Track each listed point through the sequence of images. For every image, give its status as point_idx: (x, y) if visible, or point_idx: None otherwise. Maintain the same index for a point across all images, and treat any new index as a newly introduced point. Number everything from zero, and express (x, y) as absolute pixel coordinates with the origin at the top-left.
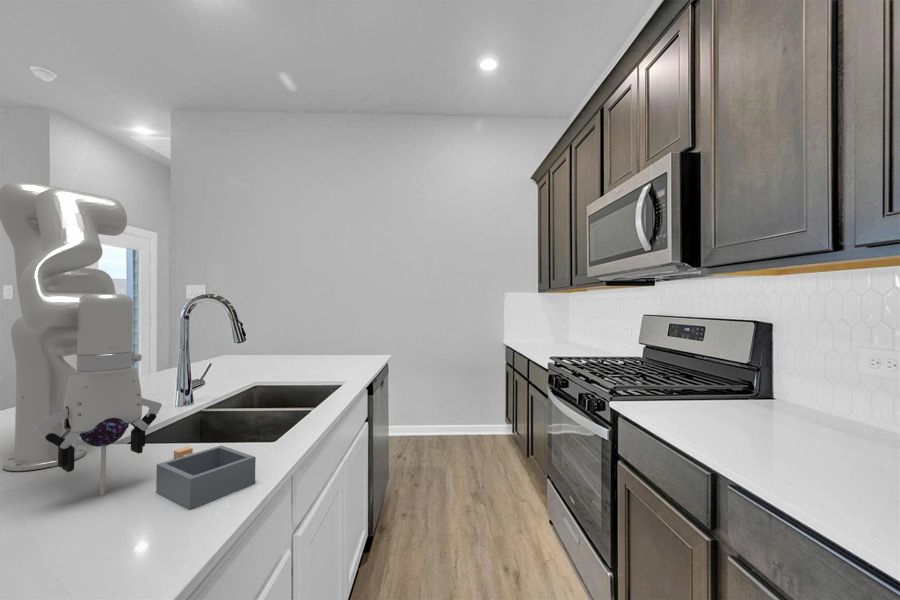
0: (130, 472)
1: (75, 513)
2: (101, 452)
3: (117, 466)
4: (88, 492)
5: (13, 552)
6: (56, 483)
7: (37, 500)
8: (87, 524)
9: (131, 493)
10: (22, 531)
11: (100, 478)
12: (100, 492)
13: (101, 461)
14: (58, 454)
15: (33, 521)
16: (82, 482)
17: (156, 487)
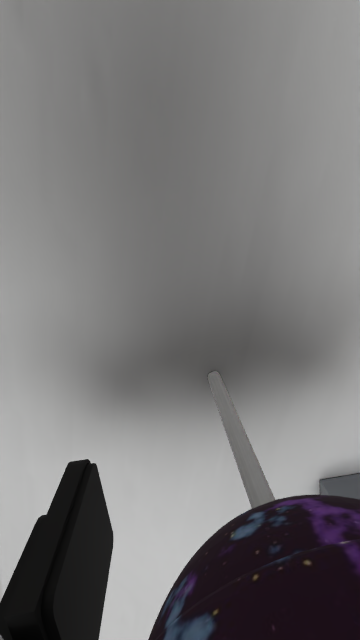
0: (345, 215)
1: (131, 467)
2: (251, 504)
3: (344, 63)
4: (185, 324)
5: (10, 578)
6: (109, 95)
7: (45, 265)
8: (144, 549)
9: (273, 435)
10: (18, 487)
11: (218, 406)
12: (209, 382)
13: (237, 465)
14: (12, 587)
15: (39, 443)
16: (189, 183)
17: (328, 494)
